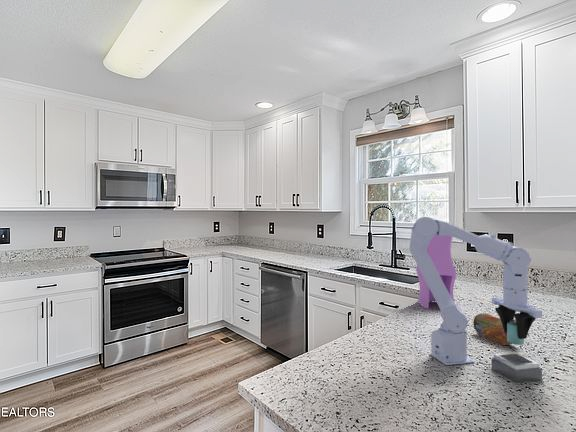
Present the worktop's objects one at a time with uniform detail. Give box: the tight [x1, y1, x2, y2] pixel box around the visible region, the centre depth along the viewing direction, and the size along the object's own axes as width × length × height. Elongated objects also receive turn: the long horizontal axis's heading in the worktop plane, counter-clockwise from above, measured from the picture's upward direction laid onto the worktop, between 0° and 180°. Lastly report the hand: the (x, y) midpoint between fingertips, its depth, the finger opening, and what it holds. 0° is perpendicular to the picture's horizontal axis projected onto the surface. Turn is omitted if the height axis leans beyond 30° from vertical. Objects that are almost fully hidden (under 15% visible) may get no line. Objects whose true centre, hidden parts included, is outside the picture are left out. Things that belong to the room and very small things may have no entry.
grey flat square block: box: [491, 351, 543, 384], centre depth 89 cm, size 8×8×4 cm
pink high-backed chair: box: [415, 234, 457, 309], centre depth 157 cm, size 14×14×35 cm
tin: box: [472, 313, 513, 346], centre depth 113 cm, size 15×3×8 cm, turn 21°
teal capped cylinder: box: [507, 319, 525, 346], centre depth 94 cm, size 4×4×6 cm
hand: (515, 335), depth 94 cm, fingers closed on teal capped cylinder, 4 cm apart
